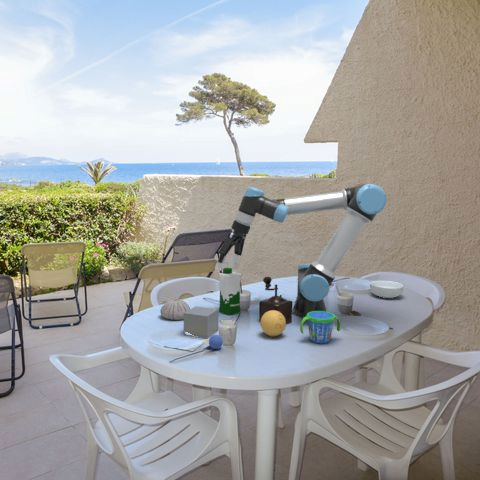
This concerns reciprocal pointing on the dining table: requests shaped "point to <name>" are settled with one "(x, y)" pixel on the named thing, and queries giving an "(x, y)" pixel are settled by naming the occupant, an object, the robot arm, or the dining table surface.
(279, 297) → the coffee grinder
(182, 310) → the sea urchin shell
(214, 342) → the ball
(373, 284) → the cereal bowl
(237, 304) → the milk carton
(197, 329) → the grey cube
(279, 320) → the stress ball
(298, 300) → the robot arm
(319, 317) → the snack cup
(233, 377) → the dining table surface
